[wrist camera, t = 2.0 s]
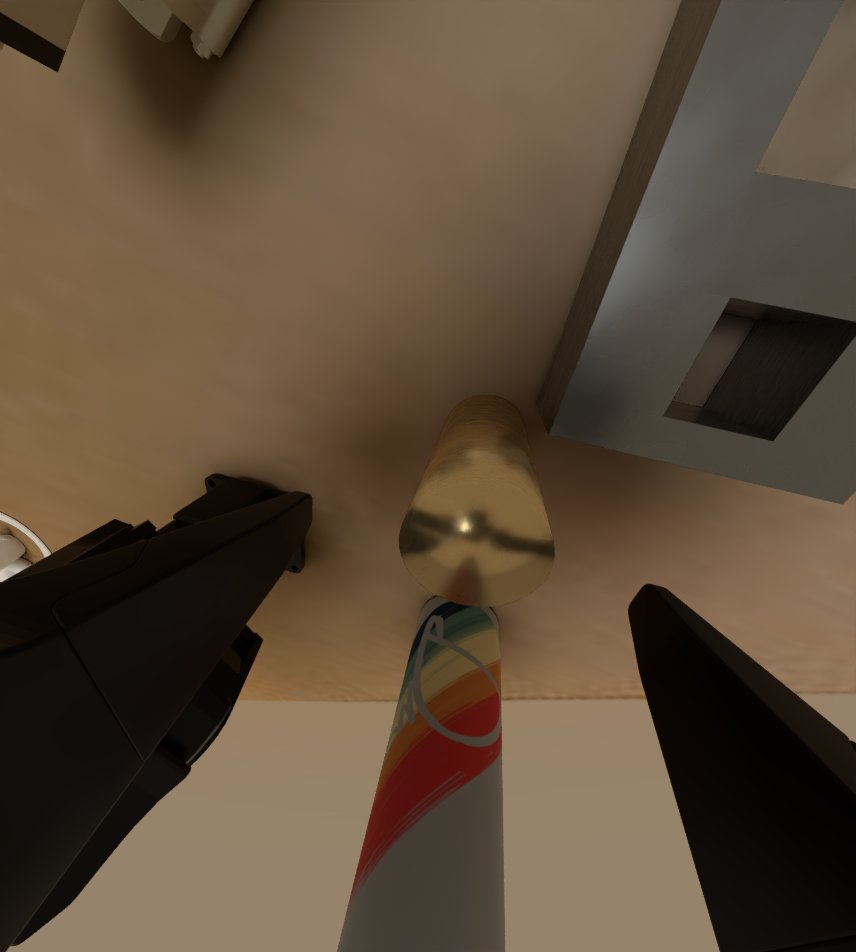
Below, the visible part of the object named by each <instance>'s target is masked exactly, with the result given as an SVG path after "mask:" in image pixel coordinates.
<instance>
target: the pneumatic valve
mask: <svg viewBox="0 0 856 952" xmlns="http://www.w3.org/2000/svg"><path fill="white" fill-rule="evenodd" d="M118 1H119V2H120V3H121V4H122V5H123V6H124V7H125V9H126V10H127V11H128V12H129V13H130V14H131V15H132V16H133V17H134V18H135V19H136V20H137V21H138V22H139V23H140V24H141V25H142V26H143V27H144V28H145V29H146V30H148V31H149V32H150V33H151V34H152V35H153V36H155V37H156V38H157V39H159V40H160V41H162V42H164V43H168V42H170V41H172V40H174V39H175V37H176V35H177V33H178V31H179V29H180V27H181V25H182V23H183V22H184V23H185V24H186V25H187V26H188V27H189V28H190V29H192V30H193V32H192V34H191V36H190V38H191V40H192V42H193V43H194V44H193V48H194V50H195V51H196V53H197V54H198V55H199V56H200V57H201V58H204V57H205V58H206V59H208V60H209V59H210V58H211V56H212V54H214V55H215V54H216V55H217V56H218V57H220V58H221V56H222V55H223V53H224V51H225V50H226V48H227V46H228V44H229V42H230V41H231V39H232V37H233V36H234V34H235V32H236V30H237V29H238V27H239V25H240V23H241V22H242V20H243V18H244V16H245V15H246V13H247V11H248V10H249V8H250V6H251V4H252V2H253V1H254V0H118ZM83 3H84V0H0V51H1V50H2V49H3V45H4V44H6V45H8V46H10V47H12V48H14V49H16V50H17V51H19V52H21V53H23V54H25V55H27V56H28V57H30V58H32V59H34V60H36V61H38V62H40V63H41V64H43V65H45V66H47V67H49V68H51V69H52V70H54V71H56V72H58V71H59V68H60V66H61V63H62V60H63V57H64V55H65V52H66V49H67V47H68V44H69V41H70V38H71V36H72V33H73V30H74V28H75V25H76V22H77V19H78V17H79V14H80V11H81V8H82V6H83Z"/></svg>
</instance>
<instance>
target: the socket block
mask: <svg viewBox="0 0 856 952" xmlns="http://www.w3.org/2000/svg"><path fill="white" fill-rule="evenodd" d="M842 1H843V0H682V1H681V4H680V7H679V10H678V12H677V15H676V18H675V21H674V24H673V26H672V29H671V32H670V35H669V37H668V40H667V43H666V46H665V49H664V51H663V54H662V57H661V60H660V62H659V65H658V68H657V71H656V74H655V76H654V79H653V82H652V85H651V88H650V90H649V93H648V96H647V99H646V101H645V104H644V107H643V110H642V113H641V115H640V118H639V121H638V124H637V127H636V129H635V132H634V135H633V138H632V140H631V143H630V146H629V149H628V152H627V154H626V157H625V160H624V163H623V166H622V168H621V171H620V174H619V177H618V179H617V182H616V185H615V188H614V191H613V193H612V196H611V199H610V202H609V204H608V207H607V210H606V213H605V216H604V218H603V221H602V224H601V227H600V230H599V232H598V235H597V238H596V241H595V243H594V246H593V249H592V252H591V255H590V257H589V260H588V263H587V266H586V269H585V271H584V274H583V277H582V280H581V282H580V285H579V288H578V291H577V294H576V296H575V299H574V302H573V305H572V308H571V310H570V313H569V316H568V319H567V321H566V324H565V327H564V330H563V333H562V335H561V338H560V341H559V344H558V346H557V349H556V352H555V355H554V358H553V360H552V363H551V366H550V369H549V372H548V374H547V377H546V380H545V383H544V385H543V388H542V391H541V394H540V397H539V399H538V402H537V405H536V406H537V408H538V411H539V413H540V415H541V418H542V420H543V422H544V425H545V427H546V429H547V432H548V434H549V435H552V436H556V437H560V438H565V439H569V440H573V441H577V442H581V443H586V444H590V445H594V446H598V447H603V448H607V449H611V450H615V451H619V452H624V453H628V454H632V455H636V456H640V457H645V458H649V459H653V460H657V461H662V462H666V463H670V464H674V465H678V466H683V467H687V468H691V469H695V470H700V471H704V472H708V473H712V474H716V475H721V476H725V477H729V478H733V479H737V480H742V481H746V482H750V483H754V484H759V485H763V486H767V487H771V488H775V489H780V490H784V491H788V492H792V493H797V494H801V495H805V496H809V497H813V498H818V499H822V500H826V501H830V502H834V503H839V504H843V503H844V502H845V501H846V500H847V499H848V498H849V497H850V496H851V495H852V494H853V493H854V492H855V491H856V189H853V188H847V187H841V186H835V185H829V184H823V183H817V182H811V181H805V180H799V179H793V178H787V177H781V176H775V175H769V174H763V173H757V172H755V170H756V168H757V166H758V164H759V162H760V160H761V159H762V157H763V155H764V153H765V151H766V149H767V147H768V145H769V143H770V141H771V139H772V137H773V135H774V133H775V131H776V129H777V127H778V126H779V124H780V122H781V120H782V118H783V116H784V114H785V112H786V110H787V108H788V106H789V104H790V102H791V100H792V98H793V96H794V95H795V93H796V91H797V89H798V87H799V85H800V83H801V81H802V79H803V77H804V75H805V73H806V71H807V69H808V67H809V65H810V63H811V62H812V60H813V58H814V56H815V54H816V52H817V50H818V48H819V46H820V44H821V42H822V40H823V38H824V36H825V34H826V32H827V30H828V29H829V27H830V25H831V23H832V21H833V19H834V17H835V15H836V13H837V11H838V9H839V7H840V5H841V3H842ZM722 312H723V313H728V314H733V315H738V316H743V317H748V318H753V319H758V321H757V322H756V324H755V326H754V327H753V329H752V330H751V332H750V334H749V335H748V337H747V338H746V340H745V341H744V343H743V345H742V346H741V348H740V349H739V351H738V353H737V354H736V356H735V357H734V359H733V361H732V362H731V364H730V365H729V367H728V369H727V370H726V372H725V373H724V375H723V377H722V378H721V380H720V381H719V383H718V385H717V386H716V388H715V389H714V391H713V393H712V394H711V396H710V397H709V399H708V400H707V402H706V404H705V405H704V407H703V408H701V407H696V406H692V405H687V404H683V403H678V402H674V401H672V399H673V398H674V396H675V394H676V392H677V391H678V389H679V387H680V385H681V384H682V382H683V380H684V378H685V377H686V375H687V373H688V371H689V370H690V368H691V366H692V364H693V363H694V361H695V359H696V357H697V356H698V354H699V352H700V350H701V349H702V347H703V345H704V343H705V342H706V340H707V338H708V336H709V335H710V333H711V331H712V329H713V328H714V326H715V324H716V322H717V321H718V319H719V317H720V315H721V314H722Z"/></svg>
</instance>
